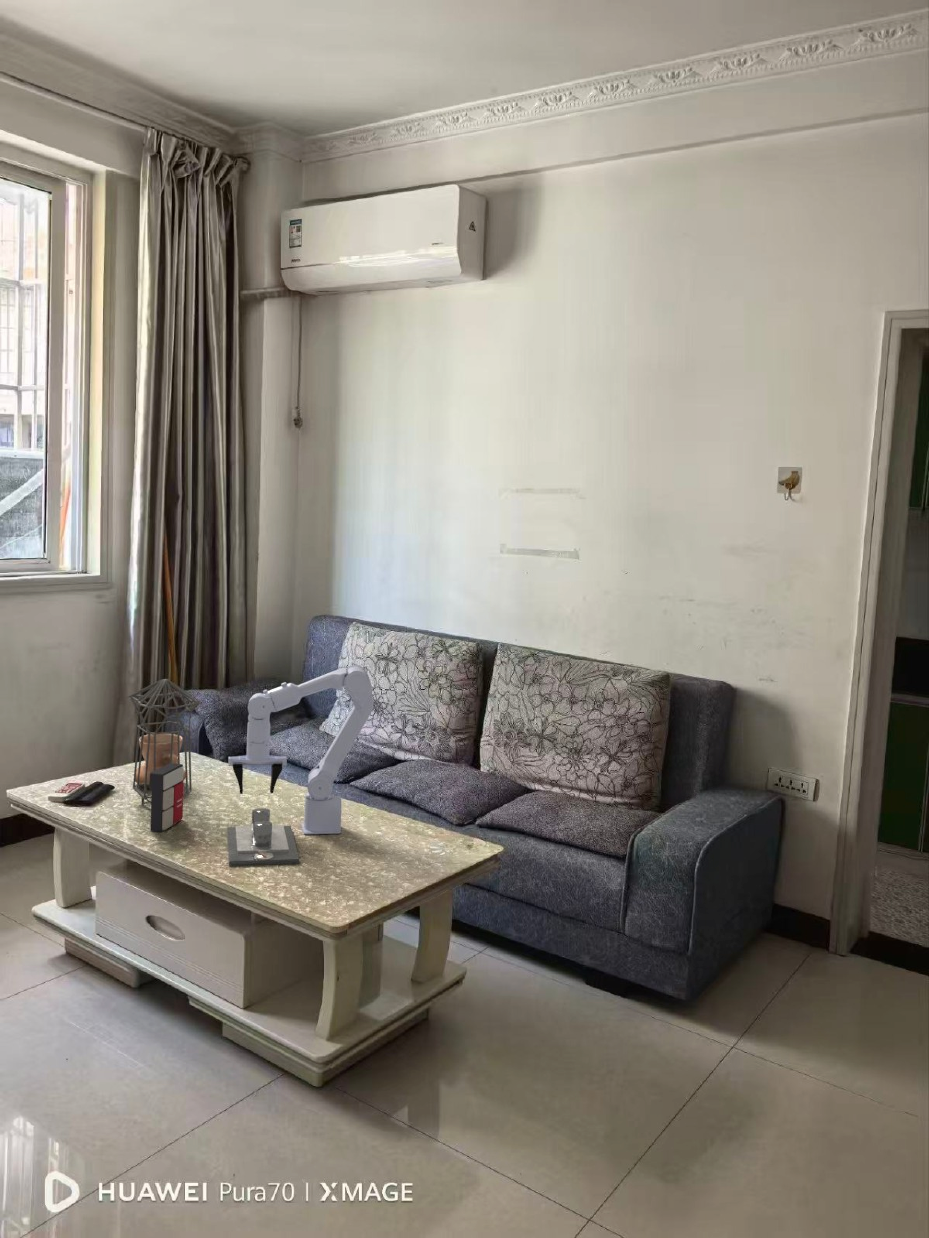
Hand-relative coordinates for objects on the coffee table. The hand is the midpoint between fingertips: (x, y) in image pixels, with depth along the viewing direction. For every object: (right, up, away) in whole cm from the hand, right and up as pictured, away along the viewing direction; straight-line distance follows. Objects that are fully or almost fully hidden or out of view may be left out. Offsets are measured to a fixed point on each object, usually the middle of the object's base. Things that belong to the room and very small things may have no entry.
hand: (256, 792), depth 255 cm
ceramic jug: (-35, -4, +33) cm, 48 cm away
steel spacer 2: (+4, -10, -14) cm, 18 cm away
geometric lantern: (-29, -7, +15) cm, 33 cm away
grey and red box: (-23, -9, 0) cm, 25 cm away
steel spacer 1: (+2, -9, -5) cm, 10 cm away
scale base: (+4, -11, -12) cm, 17 cm away
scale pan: (+3, -10, -10) cm, 14 cm away
